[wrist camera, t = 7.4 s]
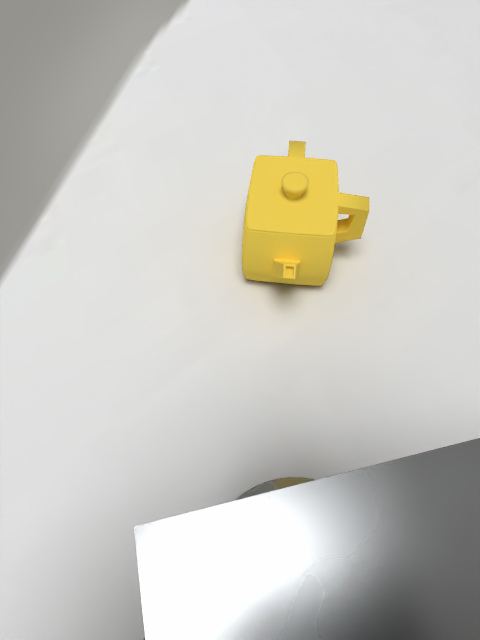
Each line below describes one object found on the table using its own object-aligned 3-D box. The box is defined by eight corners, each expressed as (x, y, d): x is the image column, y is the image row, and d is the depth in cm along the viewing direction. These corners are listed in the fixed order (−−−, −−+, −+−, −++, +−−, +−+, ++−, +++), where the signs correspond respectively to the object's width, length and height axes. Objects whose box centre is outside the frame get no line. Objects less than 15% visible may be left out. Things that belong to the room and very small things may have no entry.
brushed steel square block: (418, 677, 12) (905, 1109, 3) (245, 730, 12) (222, 1404, 3) (355, 490, 14) (525, 426, 5) (209, 528, 14) (133, 526, 5)
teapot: (351, 327, 20) (381, 268, 16) (235, 316, 21) (231, 255, 16) (350, 203, 24) (375, 125, 19) (251, 196, 24) (252, 118, 20)
